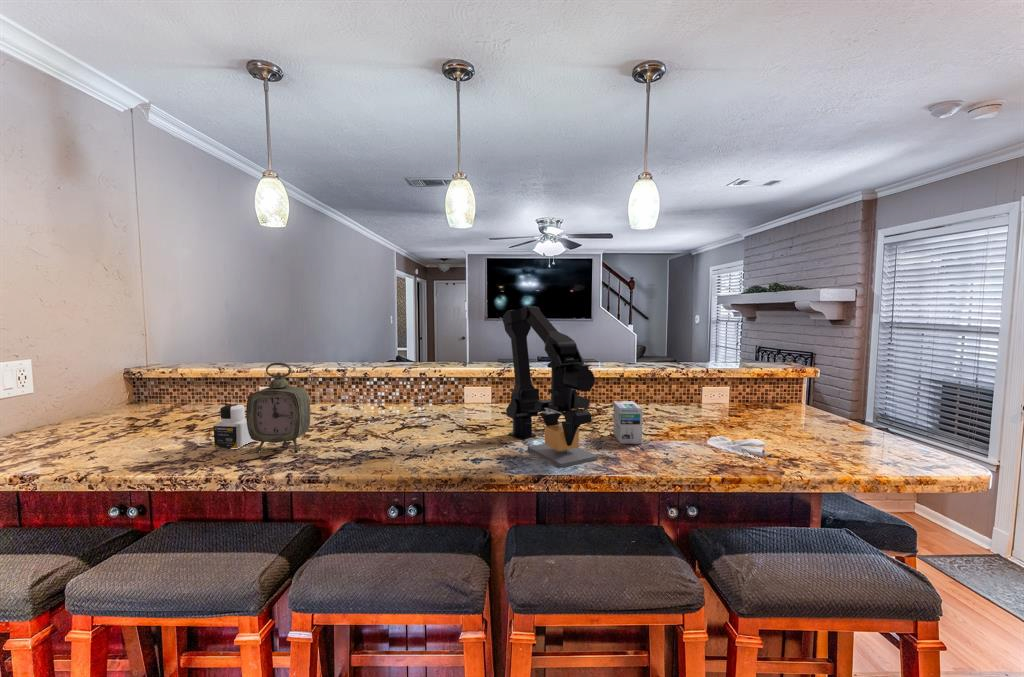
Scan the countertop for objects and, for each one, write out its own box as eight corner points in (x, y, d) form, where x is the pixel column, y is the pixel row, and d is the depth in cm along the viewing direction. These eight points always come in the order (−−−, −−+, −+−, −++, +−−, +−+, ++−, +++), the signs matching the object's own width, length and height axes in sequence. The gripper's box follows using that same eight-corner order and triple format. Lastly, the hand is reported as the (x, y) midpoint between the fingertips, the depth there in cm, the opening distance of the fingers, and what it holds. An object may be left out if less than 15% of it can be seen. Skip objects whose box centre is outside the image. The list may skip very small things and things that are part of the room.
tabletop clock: (247, 455, 125) (243, 364, 123) (264, 444, 134) (260, 360, 132) (301, 454, 126) (297, 364, 124) (314, 444, 135) (311, 360, 133)
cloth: (703, 437, 143) (703, 429, 143) (782, 444, 136) (783, 436, 136) (707, 457, 124) (707, 449, 124) (800, 467, 117) (800, 458, 116)
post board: (527, 450, 129) (527, 436, 128) (562, 443, 134) (562, 430, 134) (561, 467, 115) (561, 452, 114) (597, 459, 121) (598, 444, 120)
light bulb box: (642, 444, 134) (643, 408, 133) (619, 444, 134) (620, 408, 133) (633, 434, 144) (634, 400, 144) (612, 434, 145) (612, 400, 144)
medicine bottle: (214, 449, 130) (211, 407, 130) (232, 441, 138) (230, 402, 137) (236, 450, 130) (234, 408, 129) (253, 442, 137) (252, 403, 136)
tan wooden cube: (544, 444, 126) (544, 426, 125) (564, 440, 129) (564, 423, 128) (558, 451, 120) (558, 432, 120) (578, 447, 123) (578, 429, 123)
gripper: (608, 388, 119) (607, 446, 120) (565, 378, 135) (565, 429, 136) (574, 392, 114) (573, 453, 115) (533, 381, 130) (533, 435, 131)
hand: (561, 442), depth 124 cm, fingers closed on tan wooden cube, 7 cm apart
